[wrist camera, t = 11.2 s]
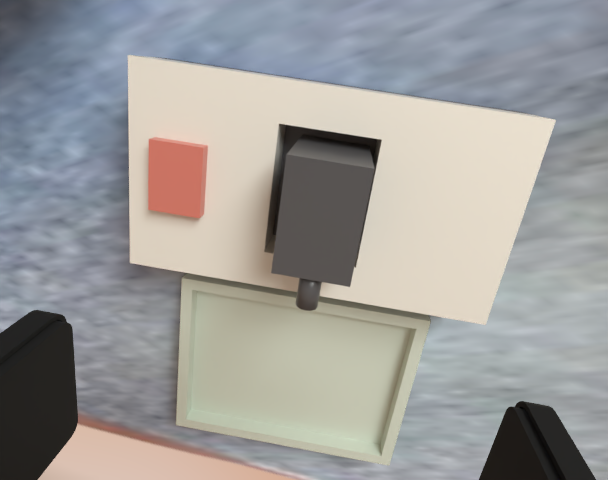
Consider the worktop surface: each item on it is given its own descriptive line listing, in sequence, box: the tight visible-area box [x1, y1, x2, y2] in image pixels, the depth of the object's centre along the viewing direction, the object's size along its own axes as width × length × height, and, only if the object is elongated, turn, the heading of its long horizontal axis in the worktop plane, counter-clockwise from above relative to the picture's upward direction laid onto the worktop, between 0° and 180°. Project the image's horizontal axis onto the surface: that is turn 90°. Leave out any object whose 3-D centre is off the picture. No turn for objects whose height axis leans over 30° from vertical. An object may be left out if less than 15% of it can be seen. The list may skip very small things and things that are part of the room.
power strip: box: [128, 55, 556, 325], centre depth 26 cm, size 22×12×6 cm, turn 82°
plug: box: [271, 134, 375, 311], centre depth 24 cm, size 4×8×7 cm, turn 172°
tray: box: [176, 273, 431, 465], centre depth 34 cm, size 18×14×2 cm
